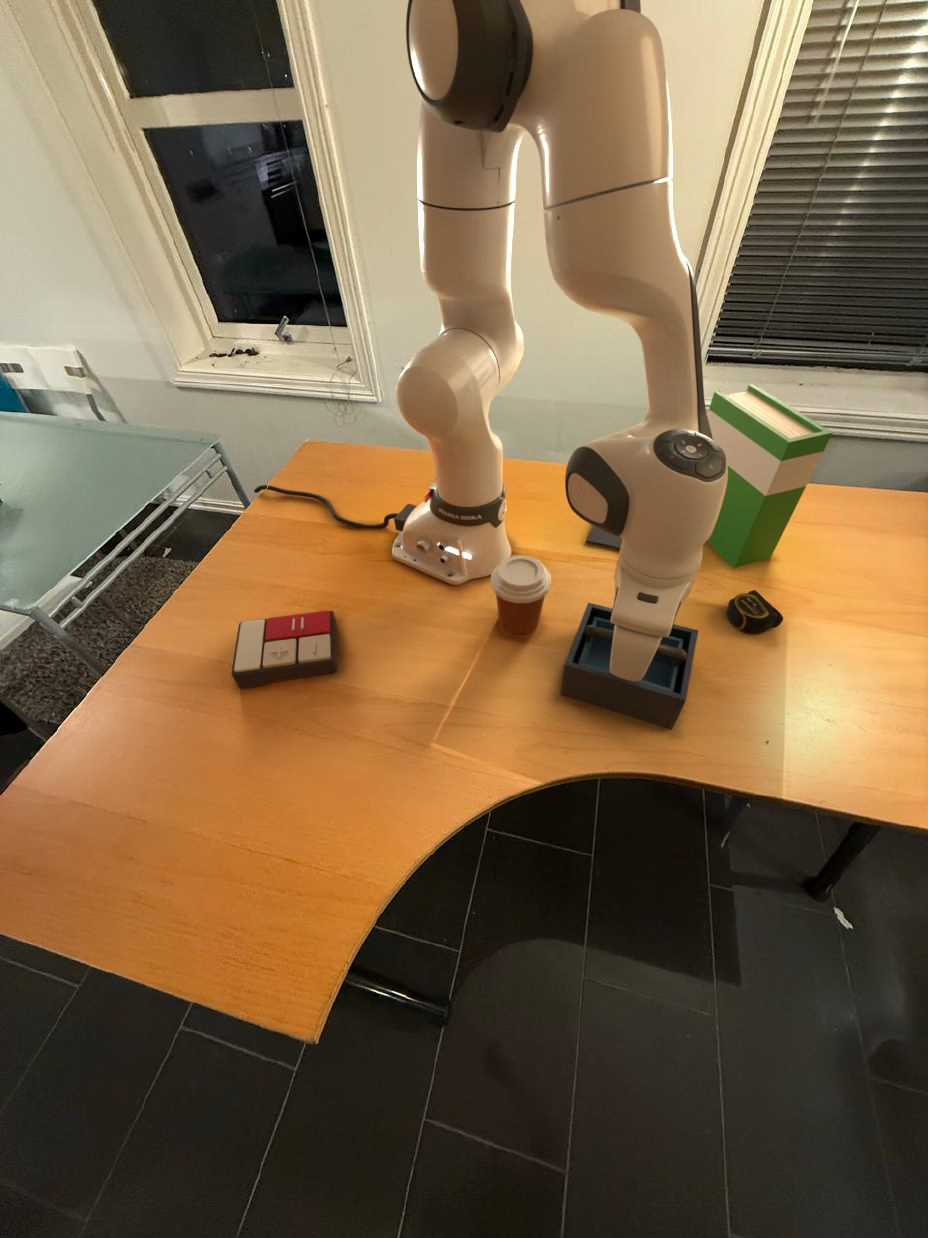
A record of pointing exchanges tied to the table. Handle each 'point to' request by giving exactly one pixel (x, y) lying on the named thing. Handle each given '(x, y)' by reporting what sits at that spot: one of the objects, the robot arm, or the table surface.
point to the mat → (604, 539)
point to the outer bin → (625, 693)
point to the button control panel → (285, 648)
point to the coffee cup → (520, 593)
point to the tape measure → (752, 613)
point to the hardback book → (760, 470)
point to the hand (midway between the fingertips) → (632, 646)
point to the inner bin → (660, 667)
